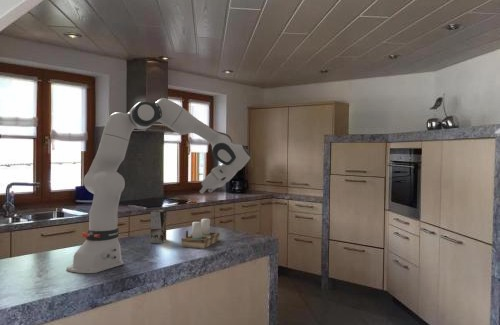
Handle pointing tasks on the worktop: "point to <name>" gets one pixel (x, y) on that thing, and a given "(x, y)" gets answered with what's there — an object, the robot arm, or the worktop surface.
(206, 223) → the sleeve
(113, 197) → the robot arm
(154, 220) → the coffee box
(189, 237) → the wooden compartment tray
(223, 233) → the worktop surface
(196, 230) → the white rounded cylinder
